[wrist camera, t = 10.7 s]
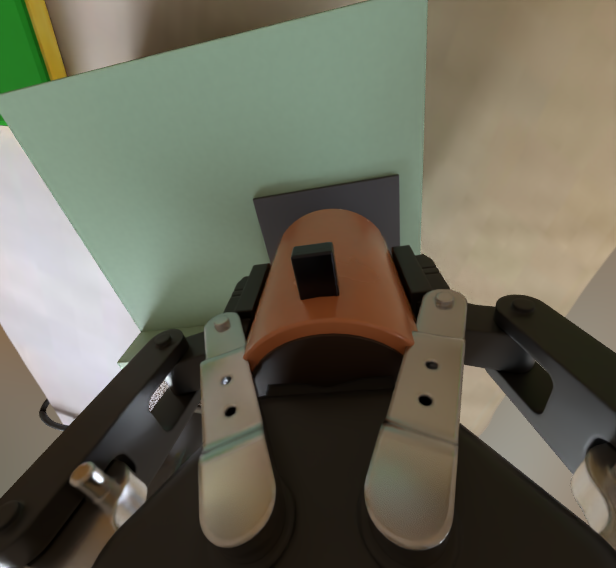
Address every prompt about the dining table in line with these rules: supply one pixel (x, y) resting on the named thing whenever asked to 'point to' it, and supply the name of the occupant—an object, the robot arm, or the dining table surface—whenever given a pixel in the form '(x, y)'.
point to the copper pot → (330, 306)
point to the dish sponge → (27, 46)
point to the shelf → (232, 152)
